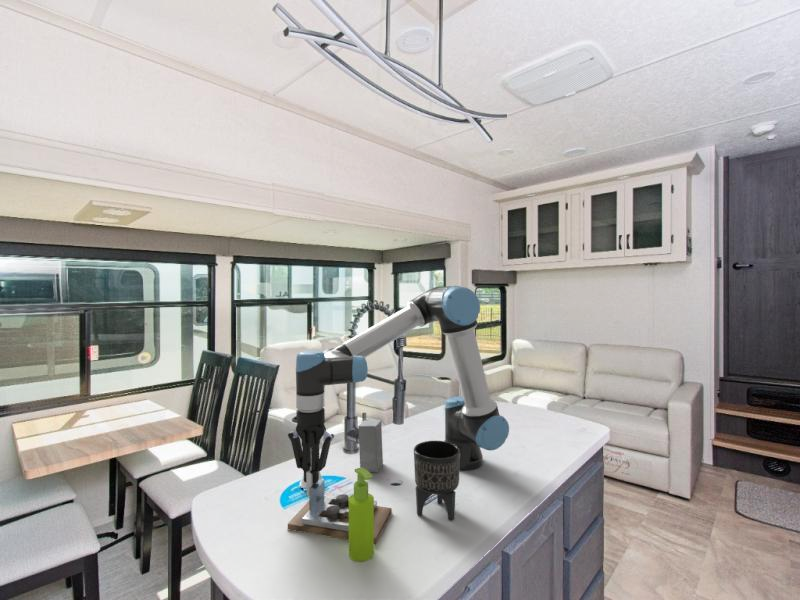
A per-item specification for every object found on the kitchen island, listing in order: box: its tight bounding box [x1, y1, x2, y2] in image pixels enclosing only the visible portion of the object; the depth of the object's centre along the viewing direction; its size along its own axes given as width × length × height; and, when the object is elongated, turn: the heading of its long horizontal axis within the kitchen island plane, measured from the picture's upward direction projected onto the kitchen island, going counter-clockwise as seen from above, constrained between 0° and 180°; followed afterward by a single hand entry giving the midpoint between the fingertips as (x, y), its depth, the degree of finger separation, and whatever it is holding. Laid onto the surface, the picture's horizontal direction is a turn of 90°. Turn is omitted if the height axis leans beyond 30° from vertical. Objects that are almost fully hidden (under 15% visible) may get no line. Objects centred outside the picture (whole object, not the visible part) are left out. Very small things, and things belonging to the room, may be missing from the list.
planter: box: [413, 440, 461, 522], centre depth 112 cm, size 13×13×18 cm
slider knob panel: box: [302, 479, 378, 531], centre depth 107 cm, size 16×13×7 cm
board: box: [287, 493, 393, 546], centre depth 107 cm, size 24×14×5 cm, turn 75°
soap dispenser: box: [348, 466, 375, 563], centre depth 94 cm, size 6×7×20 cm
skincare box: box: [357, 419, 384, 473], centre depth 140 cm, size 8×7×16 cm
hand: (311, 493), depth 110 cm, fingers closed
